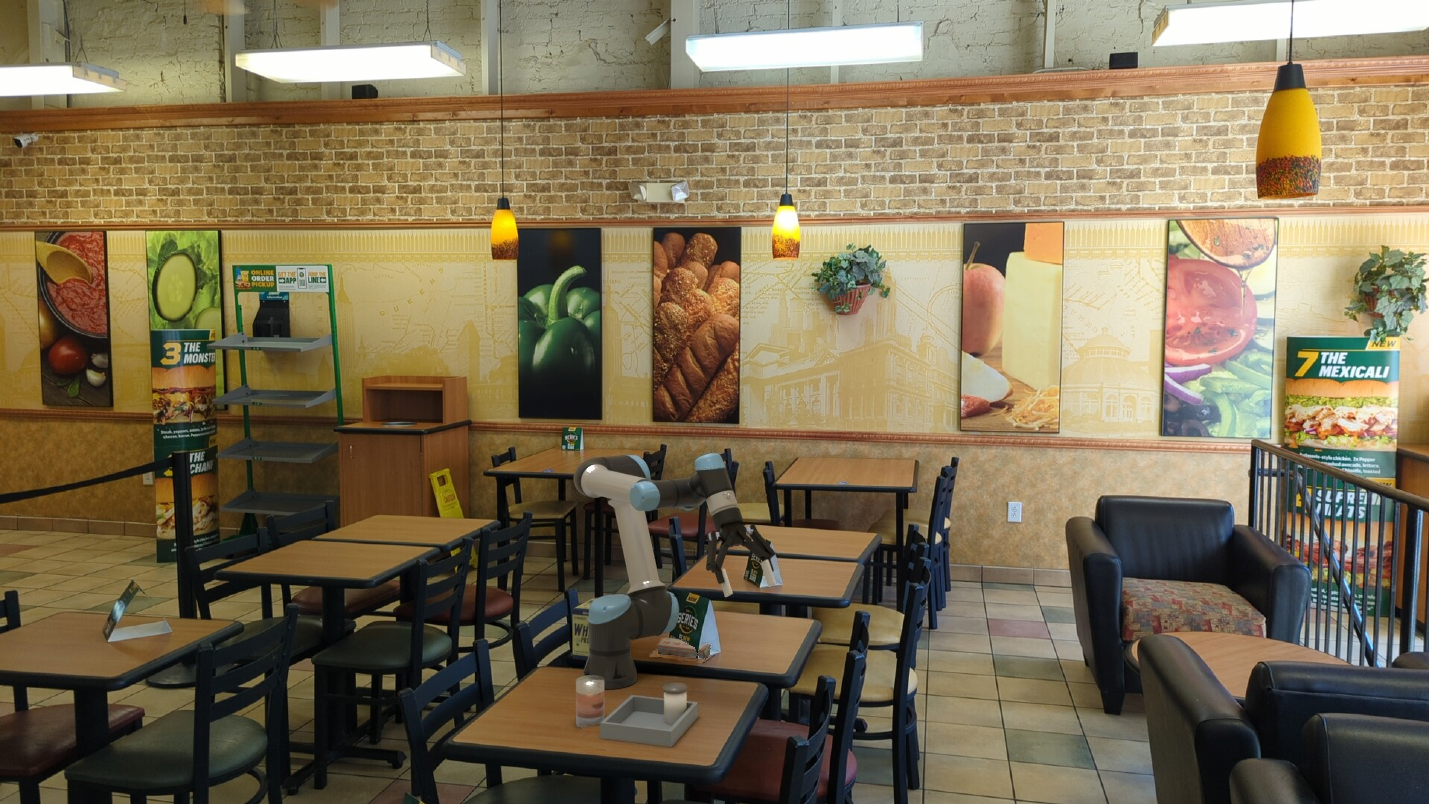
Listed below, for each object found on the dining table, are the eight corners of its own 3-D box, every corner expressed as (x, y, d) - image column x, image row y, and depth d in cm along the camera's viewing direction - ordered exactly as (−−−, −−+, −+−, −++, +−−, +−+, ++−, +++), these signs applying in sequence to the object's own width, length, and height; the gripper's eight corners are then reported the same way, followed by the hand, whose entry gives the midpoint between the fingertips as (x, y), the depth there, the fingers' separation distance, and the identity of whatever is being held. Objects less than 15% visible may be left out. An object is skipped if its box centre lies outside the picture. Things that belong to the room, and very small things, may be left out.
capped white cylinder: (660, 724, 243) (660, 692, 243) (668, 716, 249) (668, 684, 248) (682, 726, 242) (682, 694, 241) (689, 718, 247) (689, 687, 247)
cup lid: (659, 692, 243) (659, 689, 243) (668, 684, 249) (668, 681, 249) (682, 695, 241) (682, 691, 241) (690, 687, 247) (690, 683, 247)
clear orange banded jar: (571, 726, 244) (571, 682, 243) (583, 716, 250) (583, 674, 250) (597, 730, 242) (597, 685, 241) (609, 719, 248) (608, 676, 248)
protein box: (571, 659, 297) (571, 608, 297) (595, 645, 312) (595, 596, 311) (603, 663, 294) (602, 611, 293) (625, 648, 308) (625, 599, 308)
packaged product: (715, 640, 302) (703, 649, 293) (715, 655, 302) (703, 665, 293) (662, 633, 309) (648, 642, 300) (662, 649, 309) (648, 658, 300)
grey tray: (600, 741, 234) (599, 722, 234) (631, 712, 254) (631, 695, 253) (671, 750, 229) (671, 731, 229) (698, 720, 248) (698, 702, 248)
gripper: (691, 512, 244) (717, 595, 237) (770, 499, 258) (797, 577, 251) (677, 523, 250) (702, 604, 243) (756, 510, 264) (782, 586, 257)
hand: (751, 590), depth 247 cm, fingers open, 13 cm apart
